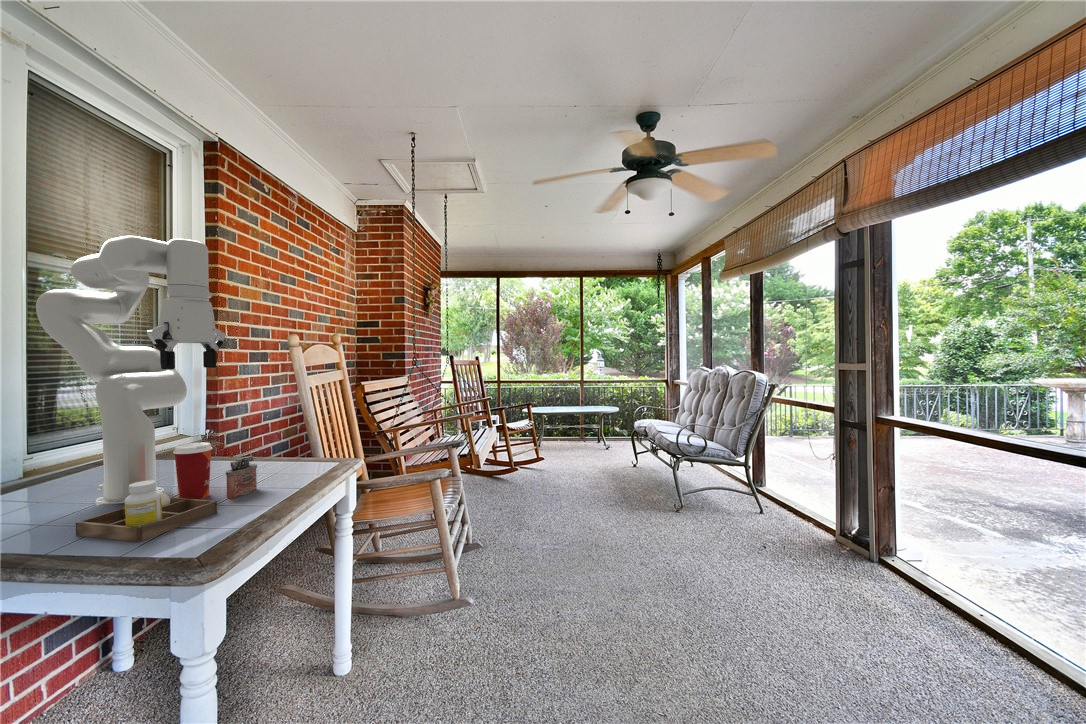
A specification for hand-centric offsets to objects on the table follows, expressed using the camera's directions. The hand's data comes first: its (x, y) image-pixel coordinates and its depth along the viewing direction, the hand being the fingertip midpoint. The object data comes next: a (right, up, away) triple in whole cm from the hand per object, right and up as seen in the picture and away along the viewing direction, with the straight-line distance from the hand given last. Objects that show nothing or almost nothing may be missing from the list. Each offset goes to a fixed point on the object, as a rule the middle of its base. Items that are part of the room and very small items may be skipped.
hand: (189, 368), depth 103 cm
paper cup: (-4, -33, +6) cm, 34 cm away
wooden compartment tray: (0, -33, -10) cm, 35 cm away
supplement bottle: (+3, -33, -15) cm, 36 cm away
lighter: (+6, -33, +9) cm, 35 cm away
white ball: (-3, -32, -6) cm, 33 cm away
